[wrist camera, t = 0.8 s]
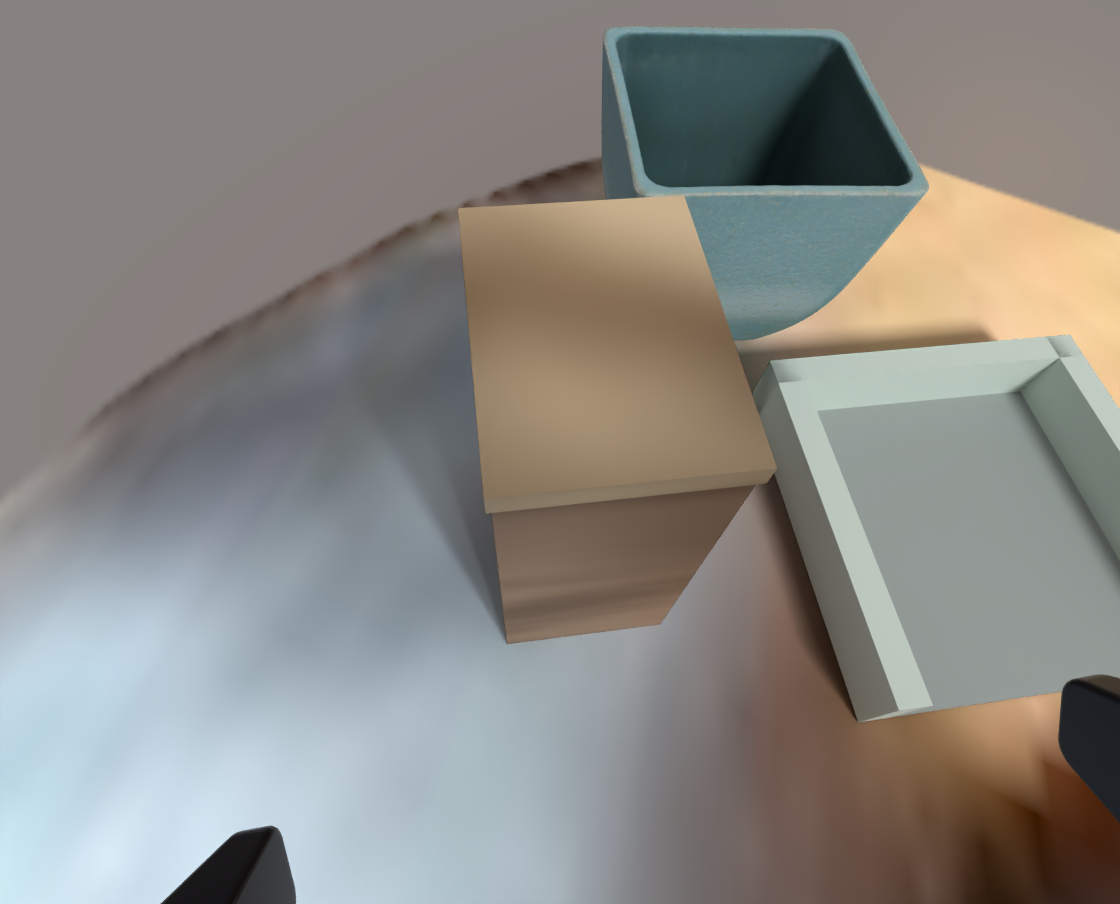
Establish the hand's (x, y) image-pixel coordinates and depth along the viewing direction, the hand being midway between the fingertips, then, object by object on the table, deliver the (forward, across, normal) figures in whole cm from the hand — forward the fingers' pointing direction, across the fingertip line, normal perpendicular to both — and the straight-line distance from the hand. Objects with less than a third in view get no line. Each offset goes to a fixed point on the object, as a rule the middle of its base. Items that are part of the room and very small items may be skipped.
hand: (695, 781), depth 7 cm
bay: (+14, -14, +4) cm, 20 cm away
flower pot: (+22, -8, -5) cm, 24 cm away
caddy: (+15, 0, +3) cm, 15 cm away
